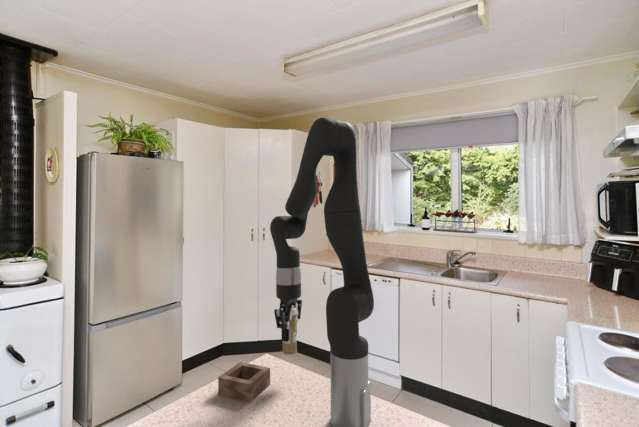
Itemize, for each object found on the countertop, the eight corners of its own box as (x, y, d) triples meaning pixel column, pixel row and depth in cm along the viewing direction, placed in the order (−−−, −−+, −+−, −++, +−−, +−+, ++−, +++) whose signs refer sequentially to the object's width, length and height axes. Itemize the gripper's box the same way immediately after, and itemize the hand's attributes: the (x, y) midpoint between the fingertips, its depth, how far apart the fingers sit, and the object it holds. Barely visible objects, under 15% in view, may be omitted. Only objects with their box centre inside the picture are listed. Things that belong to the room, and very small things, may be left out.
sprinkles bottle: (299, 352, 101) (299, 308, 101) (286, 356, 99) (285, 310, 99) (292, 348, 105) (291, 305, 105) (279, 351, 102) (278, 307, 103)
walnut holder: (270, 384, 100) (270, 367, 100) (249, 403, 90) (249, 384, 90) (240, 378, 104) (240, 361, 104) (218, 395, 94) (218, 377, 94)
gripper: (288, 287, 94) (289, 348, 94) (309, 278, 107) (310, 332, 107) (265, 285, 97) (266, 344, 97) (288, 276, 110) (289, 329, 110)
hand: (289, 337), depth 102 cm, fingers closed on sprinkles bottle, 4 cm apart
